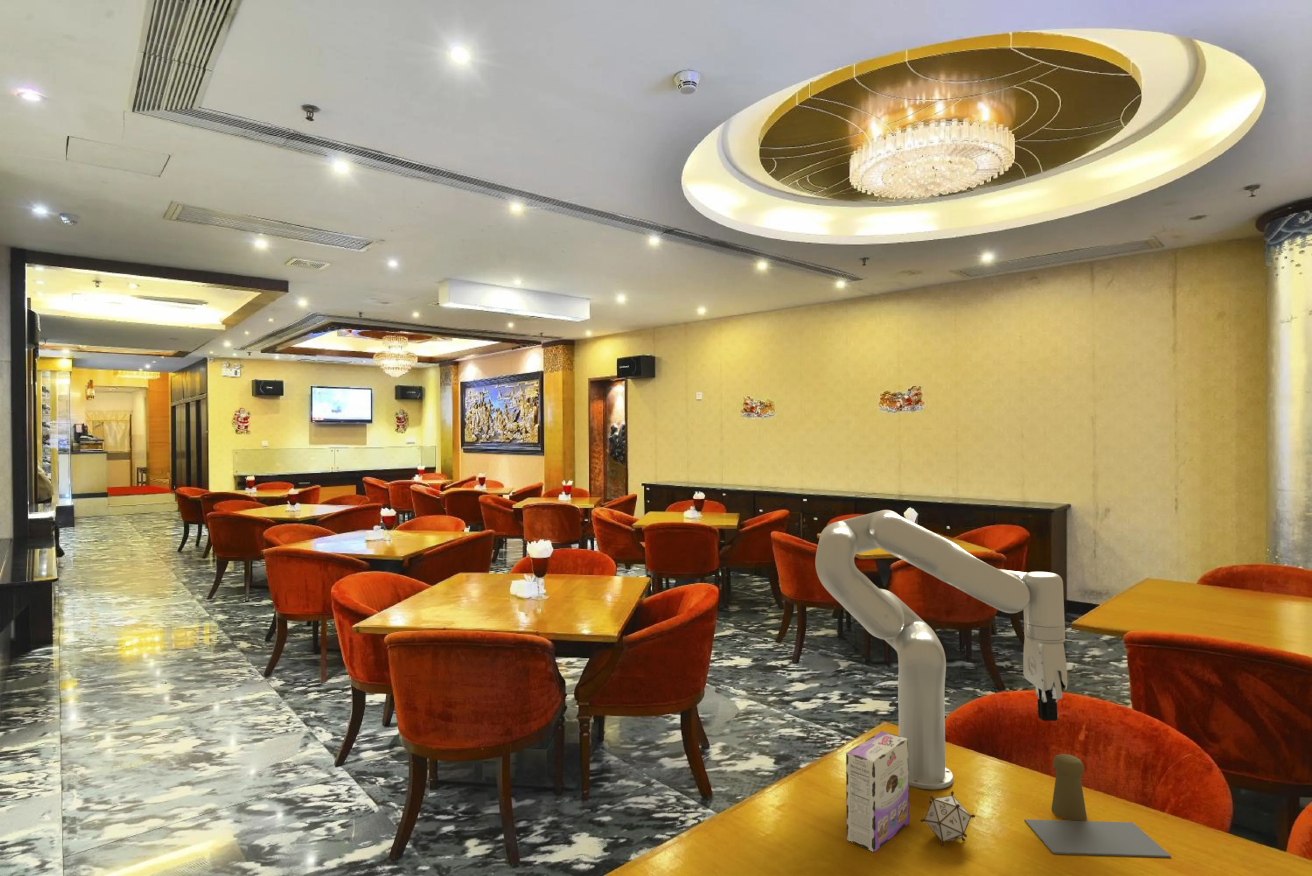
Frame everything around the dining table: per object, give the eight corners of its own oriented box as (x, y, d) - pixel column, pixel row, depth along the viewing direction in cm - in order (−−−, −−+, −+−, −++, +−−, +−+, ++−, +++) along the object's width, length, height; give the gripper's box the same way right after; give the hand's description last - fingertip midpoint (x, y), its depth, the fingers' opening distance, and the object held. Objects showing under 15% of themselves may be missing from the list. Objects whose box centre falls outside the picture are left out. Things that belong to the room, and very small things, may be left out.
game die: (958, 865, 128) (983, 838, 122) (912, 843, 130) (934, 816, 124) (959, 820, 135) (982, 793, 130) (915, 800, 137) (936, 772, 131)
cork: (1047, 813, 139) (1046, 757, 139) (1055, 802, 143) (1055, 747, 143) (1082, 824, 135) (1082, 766, 135) (1090, 812, 139) (1089, 756, 139)
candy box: (881, 813, 139) (881, 729, 139) (910, 824, 135) (909, 738, 135) (845, 840, 130) (844, 750, 130) (874, 853, 125) (873, 760, 126)
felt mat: (1052, 853, 125) (1052, 852, 125) (1024, 821, 136) (1024, 819, 136) (1170, 857, 124) (1170, 855, 124) (1132, 824, 135) (1132, 822, 135)
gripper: (1010, 623, 156) (1013, 706, 156) (1043, 641, 141) (1046, 733, 141) (1045, 622, 156) (1048, 706, 156) (1082, 641, 141) (1085, 733, 141)
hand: (1047, 719), depth 148 cm, fingers closed
